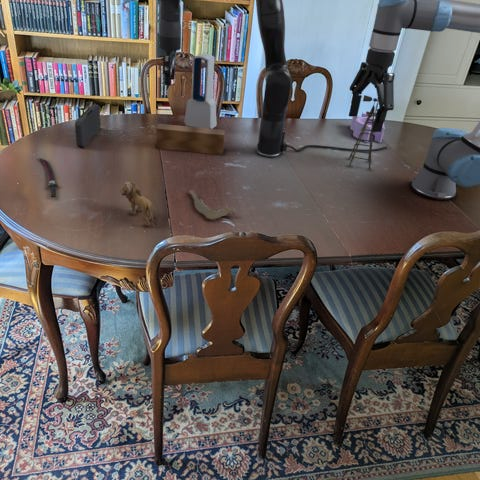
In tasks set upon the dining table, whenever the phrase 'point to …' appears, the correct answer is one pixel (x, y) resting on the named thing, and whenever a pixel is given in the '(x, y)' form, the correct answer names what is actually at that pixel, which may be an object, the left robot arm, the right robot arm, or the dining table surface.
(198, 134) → the bar
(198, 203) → the jawbone
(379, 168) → the dining table surface
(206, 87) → the electronic device
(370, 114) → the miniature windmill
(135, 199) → the lion figurine
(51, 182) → the sword
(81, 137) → the handheld gaming console
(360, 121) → the purple notched block
